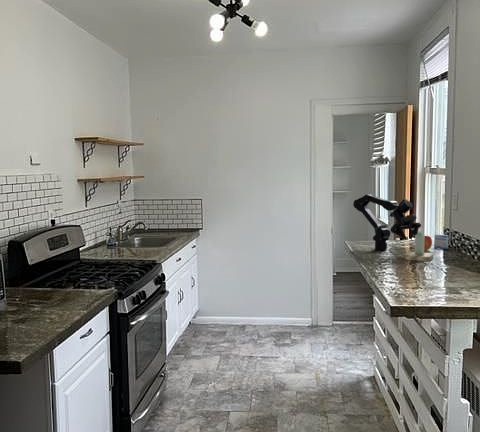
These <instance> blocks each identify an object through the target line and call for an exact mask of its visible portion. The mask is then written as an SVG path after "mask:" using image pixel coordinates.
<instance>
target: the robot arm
mask: <svg viewBox="0 0 480 432" xmlns="http://www.w3.org/2000/svg"><path fill="white" fill-rule="evenodd" d="M370 203H373V204H375V205H379V206H381V207H382V208H383V209H385V210H386V211H388V212H390V211H391V212H390V214H389V217H390V218H394V220H395V222H394V224H393V225H392V226H391V227H390V228H389V227H388V225H387V224H381V221H379V220H378V218H377V217H376V216H375V215H374V213H372V211H371V210H370V208H369V204H370ZM413 207H414V205H413V203H412V202H411V201H409V200H408V199H407V198H403V199H402V200H401V201H400V203H399V202H398V201H396V200H389V199H384V198H382V197H379V196H376V195H373V194H372V193H371V194H370V193H369V194H364V195H363V196H361V197H359V198H358V199H354V200H353V208H355V210H357V211H359V212H360V213H362V215H363V216H364V218H365V219H367V221H368V222H369V224H370V225H371V226H372V227H373V229H374V235H373V236H372V240H373V241H374V249H373V251H382V252H386V251H388V242H387V241H389V239H390V236H391V234H394V235H396V236H398V237H400V238H401V239H402V240H405V241H406V240H408V239H407V236H406V234H405V232H404V230H410V232H411V234H412V235H413V236H414V237H415V235H416V234H418V231H419V229H420V228H421V227H422V224H421V223H420V222H413V221H416V219H417V215H416V214H415V213H412V214H408V215H405V214H407V213H408V212H409V211H410V210H411V209H412V208H413ZM412 222H413V223H412Z"/></svg>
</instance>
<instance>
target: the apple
mask: <svg viewBox="0 0 480 432" xmlns="http://www.w3.org/2000/svg"><path fill="white" fill-rule="evenodd" d="M432 244H433V240H432V236H429V235H425V240H424V252H428V251H429V250H430V249H431V248H432Z"/></svg>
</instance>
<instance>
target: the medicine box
mask: <svg viewBox="0 0 480 432" xmlns="http://www.w3.org/2000/svg"><path fill="white" fill-rule="evenodd" d="M448 247H449V234H448V235H447V234H434V243H433V248H434V249H437V248H442V249H441V250H448Z"/></svg>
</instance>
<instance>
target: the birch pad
mask: <svg viewBox="0 0 480 432" xmlns="http://www.w3.org/2000/svg"><path fill="white" fill-rule="evenodd" d="M404 257H405V258H404V259H405V260H409V261H417V262H418V261H420V262H429V261H430V262H431V261H433V259H434V253H431V252H424V255H416V254H415V251H408V252H407V253H406V254H405V256H404Z"/></svg>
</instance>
